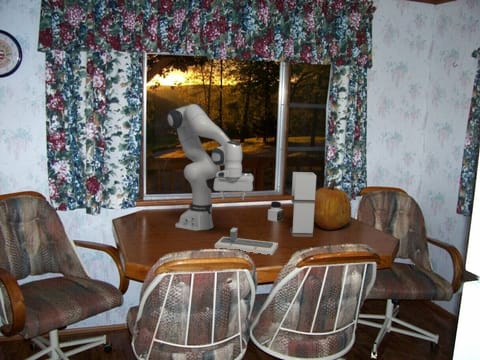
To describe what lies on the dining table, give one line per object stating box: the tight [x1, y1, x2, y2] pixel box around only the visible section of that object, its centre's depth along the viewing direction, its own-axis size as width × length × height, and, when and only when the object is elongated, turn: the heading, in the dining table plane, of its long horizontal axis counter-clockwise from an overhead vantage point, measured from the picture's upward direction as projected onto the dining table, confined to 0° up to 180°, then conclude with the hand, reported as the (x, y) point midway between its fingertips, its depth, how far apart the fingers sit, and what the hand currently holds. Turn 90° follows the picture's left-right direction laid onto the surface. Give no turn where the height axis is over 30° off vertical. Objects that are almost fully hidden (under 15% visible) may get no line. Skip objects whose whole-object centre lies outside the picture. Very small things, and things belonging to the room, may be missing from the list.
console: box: [214, 236, 279, 256], centre depth 231 cm, size 30×14×3 cm, turn 74°
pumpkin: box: [314, 178, 352, 231], centre depth 271 cm, size 26×23×30 cm
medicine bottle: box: [267, 200, 284, 223], centre depth 286 cm, size 7×7×12 cm
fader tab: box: [229, 227, 239, 242], centre depth 233 cm, size 4×5×7 cm
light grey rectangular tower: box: [289, 171, 317, 238], centre depth 256 cm, size 11×11×35 cm
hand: (233, 199), depth 232 cm, fingers open, 8 cm apart
